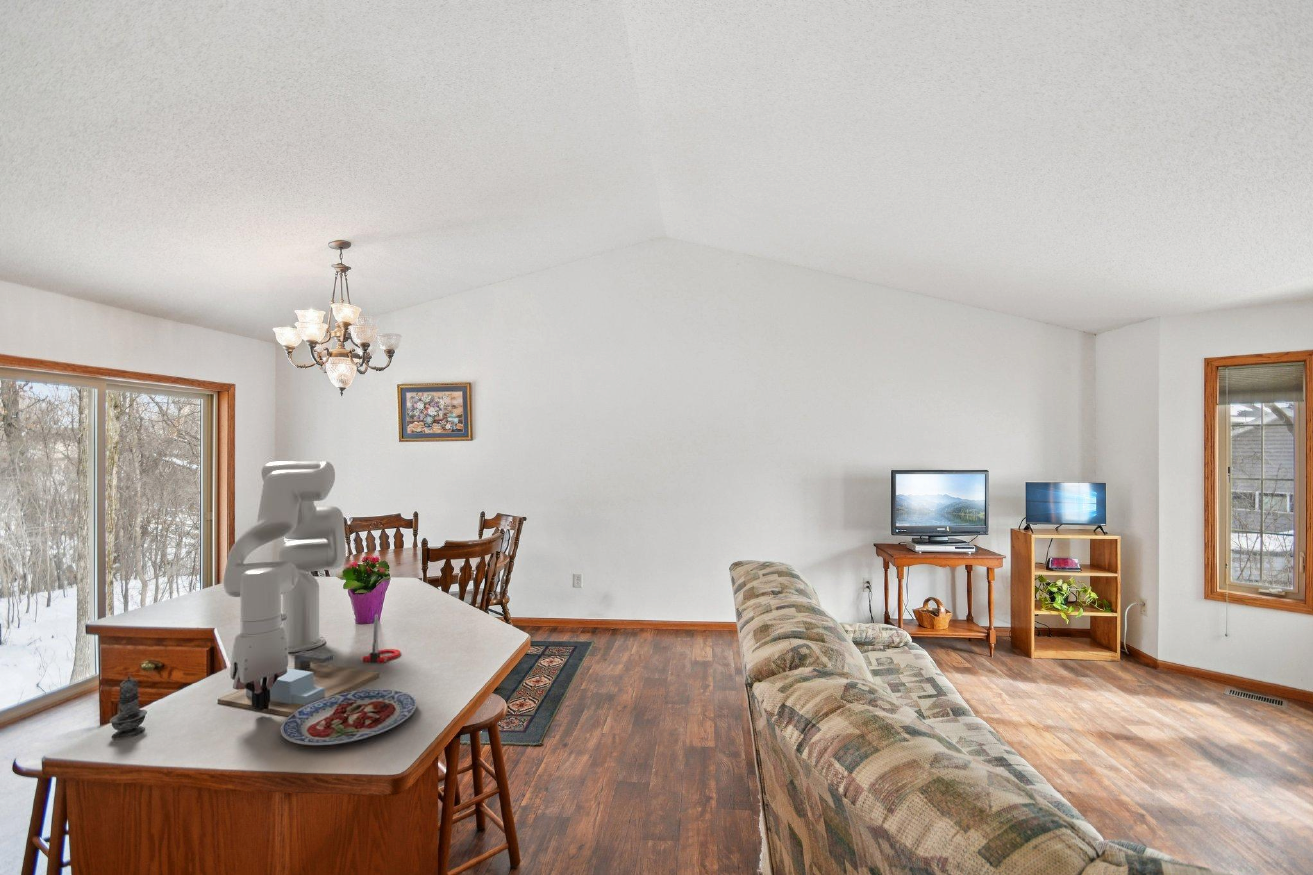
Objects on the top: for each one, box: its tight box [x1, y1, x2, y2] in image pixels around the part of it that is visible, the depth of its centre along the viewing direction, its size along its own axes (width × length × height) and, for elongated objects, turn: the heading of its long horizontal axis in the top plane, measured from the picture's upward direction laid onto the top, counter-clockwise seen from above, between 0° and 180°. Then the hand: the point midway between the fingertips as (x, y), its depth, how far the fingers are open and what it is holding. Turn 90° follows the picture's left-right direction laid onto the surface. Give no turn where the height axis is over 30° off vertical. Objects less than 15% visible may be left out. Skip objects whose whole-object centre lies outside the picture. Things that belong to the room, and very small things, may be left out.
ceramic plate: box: [280, 688, 417, 746], centre depth 127 cm, size 26×26×3 cm
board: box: [217, 662, 380, 717], centre depth 145 cm, size 24×24×1 cm
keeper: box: [293, 650, 334, 671], centre depth 154 cm, size 10×3×4 cm, turn 71°
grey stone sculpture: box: [109, 674, 148, 740], centre depth 123 cm, size 6×6×12 cm
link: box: [246, 667, 325, 705], centre depth 139 cm, size 18×6×5 cm, turn 71°
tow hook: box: [362, 614, 401, 663], centre depth 167 cm, size 8×13×9 cm
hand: (260, 708), depth 130 cm, fingers closed
